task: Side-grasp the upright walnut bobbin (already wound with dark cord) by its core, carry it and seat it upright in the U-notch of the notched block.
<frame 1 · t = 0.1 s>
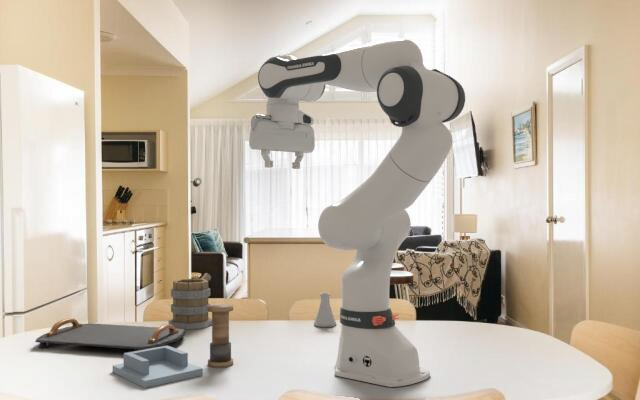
hand: (282, 168, 166), 48 cm above the table, tool pointing down, fingers open, 8 cm apart
serving board: (113, 345, 169), on the table
flask: (325, 326, 192), on the table
tankard: (196, 323, 195), on the table
bobbin: (220, 364, 147), on the table
notched block: (157, 373, 139), on the table
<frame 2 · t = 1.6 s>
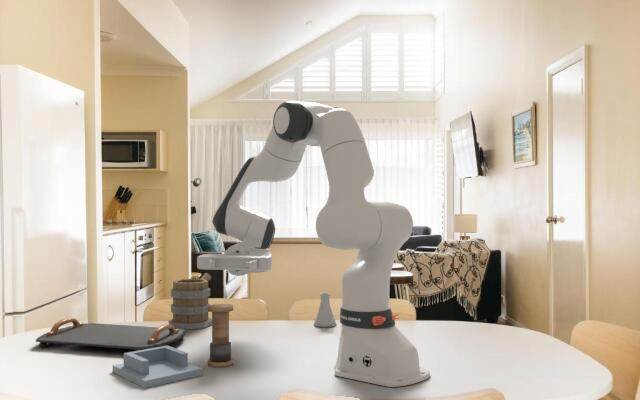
hand: (230, 265, 159), 22 cm above the table, tool horizontal, fingers open, 8 cm apart
nothing on the table moved.
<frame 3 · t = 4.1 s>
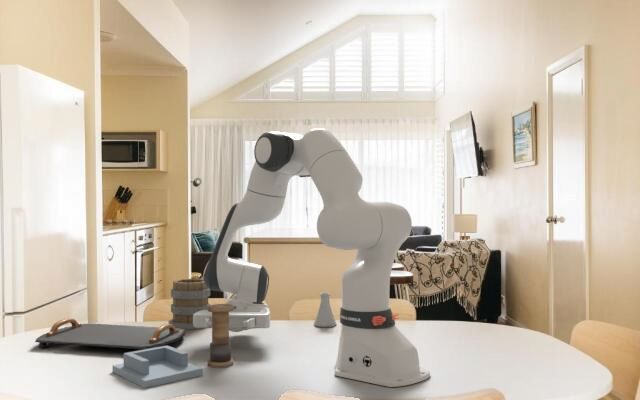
hand: (226, 325, 154), 8 cm above the table, tool horizontal, fingers open, 8 cm apart
nothing on the table moved.
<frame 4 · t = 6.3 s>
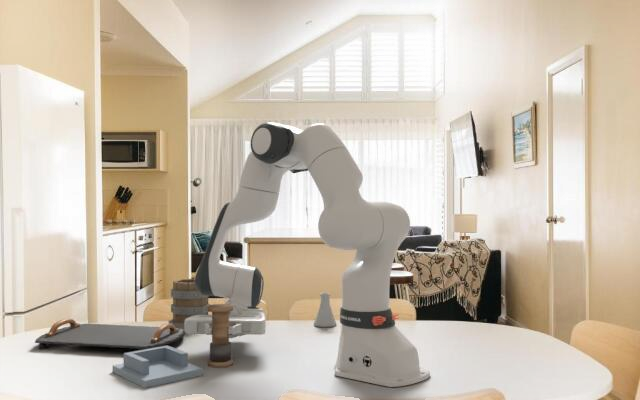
hand: (219, 331, 146), 8 cm above the table, tool horizontal, fingers closed on bobbin, 4 cm apart
bobbin: (220, 364, 147), on the table, touching gripper
everything else where it was.
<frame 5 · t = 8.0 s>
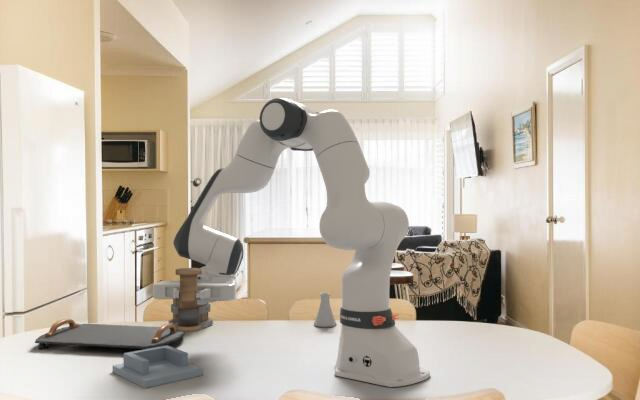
hand: (187, 295, 143), 17 cm above the table, tool horizontal, fingers closed on bobbin, 4 cm apart
bobbin: (188, 329, 144), point 9 cm above the table, touching gripper
everything else where it was.
when the fingers open (11 cm above the table, at t = 10.2 s): bobbin drops 1 cm, resting on notched block.
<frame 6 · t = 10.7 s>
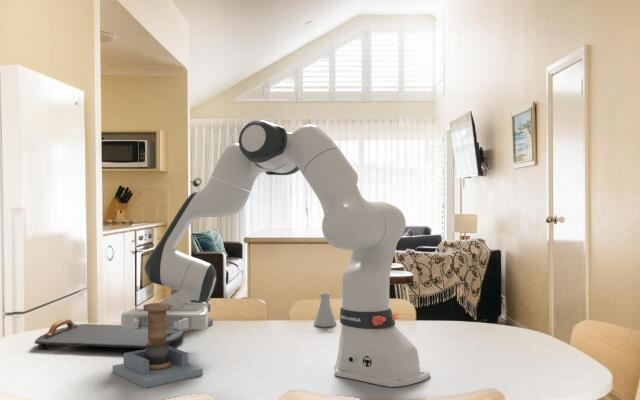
hand: (155, 326, 139), 11 cm above the table, tool horizontal, fingers open, 8 cm apart
bobbin: (157, 366, 139), point 2 cm above the table, touching notched block
everything else where it was.
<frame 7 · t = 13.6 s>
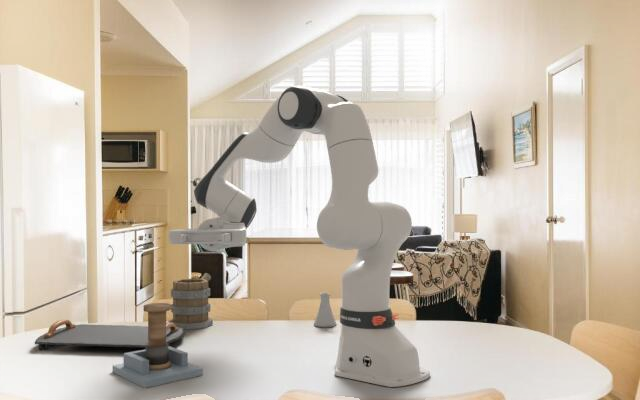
hand: (201, 238, 154), 30 cm above the table, tool horizontal, fingers open, 8 cm apart
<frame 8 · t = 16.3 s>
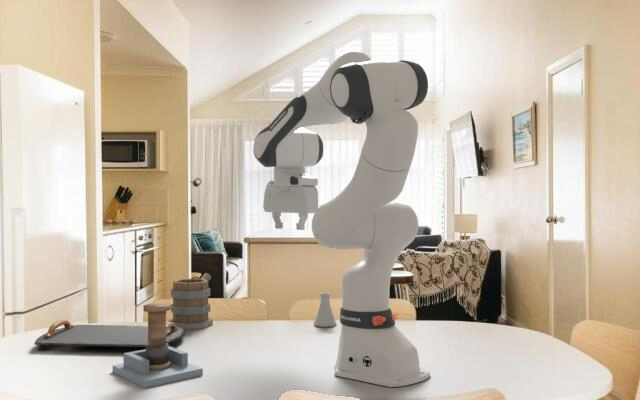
hand: (289, 229, 172), 31 cm above the table, tool pointing down, fingers open, 8 cm apart
at the end: bobbin 0.0 cm off-centre on the notched block, point 1.5 cm above the notched block's base; bobbin tilted 0°; the gripper is holding nothing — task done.
